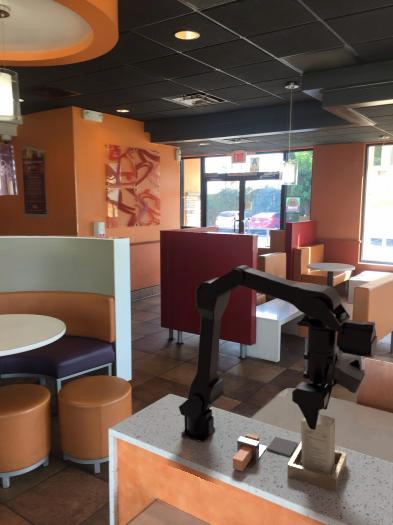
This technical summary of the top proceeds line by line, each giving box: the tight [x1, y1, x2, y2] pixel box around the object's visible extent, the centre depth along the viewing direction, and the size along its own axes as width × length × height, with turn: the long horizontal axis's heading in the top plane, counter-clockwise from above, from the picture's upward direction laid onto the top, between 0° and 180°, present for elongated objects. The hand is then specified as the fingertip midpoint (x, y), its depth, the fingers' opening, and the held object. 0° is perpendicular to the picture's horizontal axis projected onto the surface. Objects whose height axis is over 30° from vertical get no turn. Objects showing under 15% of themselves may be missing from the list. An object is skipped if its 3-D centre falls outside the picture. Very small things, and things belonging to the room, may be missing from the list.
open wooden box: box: [286, 442, 348, 493], centre depth 95 cm, size 10×10×3 cm
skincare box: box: [300, 414, 336, 476], centre depth 95 cm, size 6×4×12 cm
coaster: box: [266, 436, 299, 458], centre depth 105 cm, size 6×6×1 cm
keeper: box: [236, 436, 268, 469], centre depth 102 cm, size 5×9×4 cm, turn 150°
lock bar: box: [232, 432, 260, 472], centre depth 99 cm, size 3×9×4 cm, turn 150°
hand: (318, 418), depth 94 cm, fingers open, 9 cm apart
